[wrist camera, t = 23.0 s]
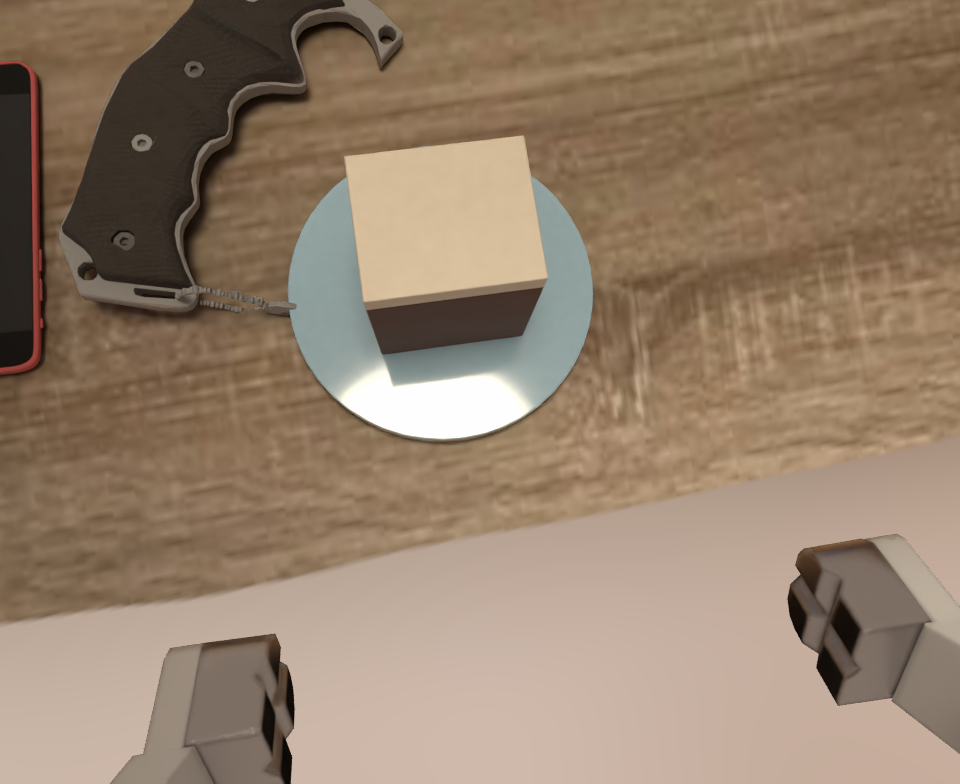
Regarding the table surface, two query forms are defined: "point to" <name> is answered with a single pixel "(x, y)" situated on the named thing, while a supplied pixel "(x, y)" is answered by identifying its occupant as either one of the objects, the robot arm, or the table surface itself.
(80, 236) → the knife
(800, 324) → the table surface
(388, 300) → the cake slice
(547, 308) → the plate
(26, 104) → the smartphone
